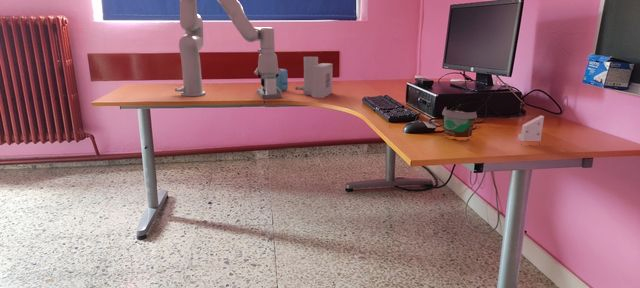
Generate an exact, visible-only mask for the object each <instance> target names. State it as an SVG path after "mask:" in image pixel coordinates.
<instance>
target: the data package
mask: <svg viewBox="0 0 640 288" xmlns="http://www.w3.org/2000/svg"><path fill="white" fill-rule="evenodd" d="M279 69H280V70H281V71H282V73H281V74H280V75H279V76H278V77H277V78H276V86H277V87H278V88H279V89H280V90H281V92H283V91H287V90H288V89H289V88H288V87H289V86H288V85H289V84H288V83H289V82H288V78H289V77H288V70H287V69H286V68H279ZM276 74H277V73H275V75H276Z"/></svg>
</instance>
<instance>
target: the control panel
mask: <svg viewBox="0 0 640 288" xmlns="http://www.w3.org/2000/svg"><path fill="white" fill-rule="evenodd" d="M333 64H334V63H328V62H326V63H325V62H324V63H323V62H322V63H319V57H318V56H303V86H295V91H296V90H297V91H303V92H302V93H303V95H307V96H311V97H312V98H316V99H324V98H325V97H328V96H330V95H331V93H332V94H333ZM329 94H330V95H329Z"/></svg>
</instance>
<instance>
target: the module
mask: <svg viewBox="0 0 640 288" xmlns="http://www.w3.org/2000/svg"><path fill="white" fill-rule="evenodd" d="M266 77H274V73H265V74H264V77H263V78H264V87H263V88H264V89H265V90H266V87H265V78H266Z"/></svg>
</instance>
